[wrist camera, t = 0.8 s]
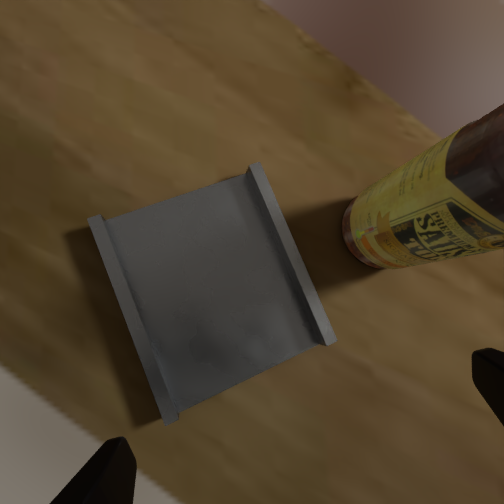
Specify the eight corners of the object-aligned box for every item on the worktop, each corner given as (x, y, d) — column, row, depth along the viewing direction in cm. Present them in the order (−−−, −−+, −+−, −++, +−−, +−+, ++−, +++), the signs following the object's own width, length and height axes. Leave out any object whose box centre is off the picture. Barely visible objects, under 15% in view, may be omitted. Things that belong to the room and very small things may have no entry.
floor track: (326, 338, 24) (337, 340, 22) (167, 416, 21) (165, 426, 19) (254, 172, 25) (259, 161, 23) (95, 225, 22) (87, 218, 21)
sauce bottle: (333, 263, 25) (828, 97, 6) (342, 184, 26) (773, -174, 7) (413, 279, 26) (1073, 186, 7) (418, 202, 27) (985, -67, 8)
